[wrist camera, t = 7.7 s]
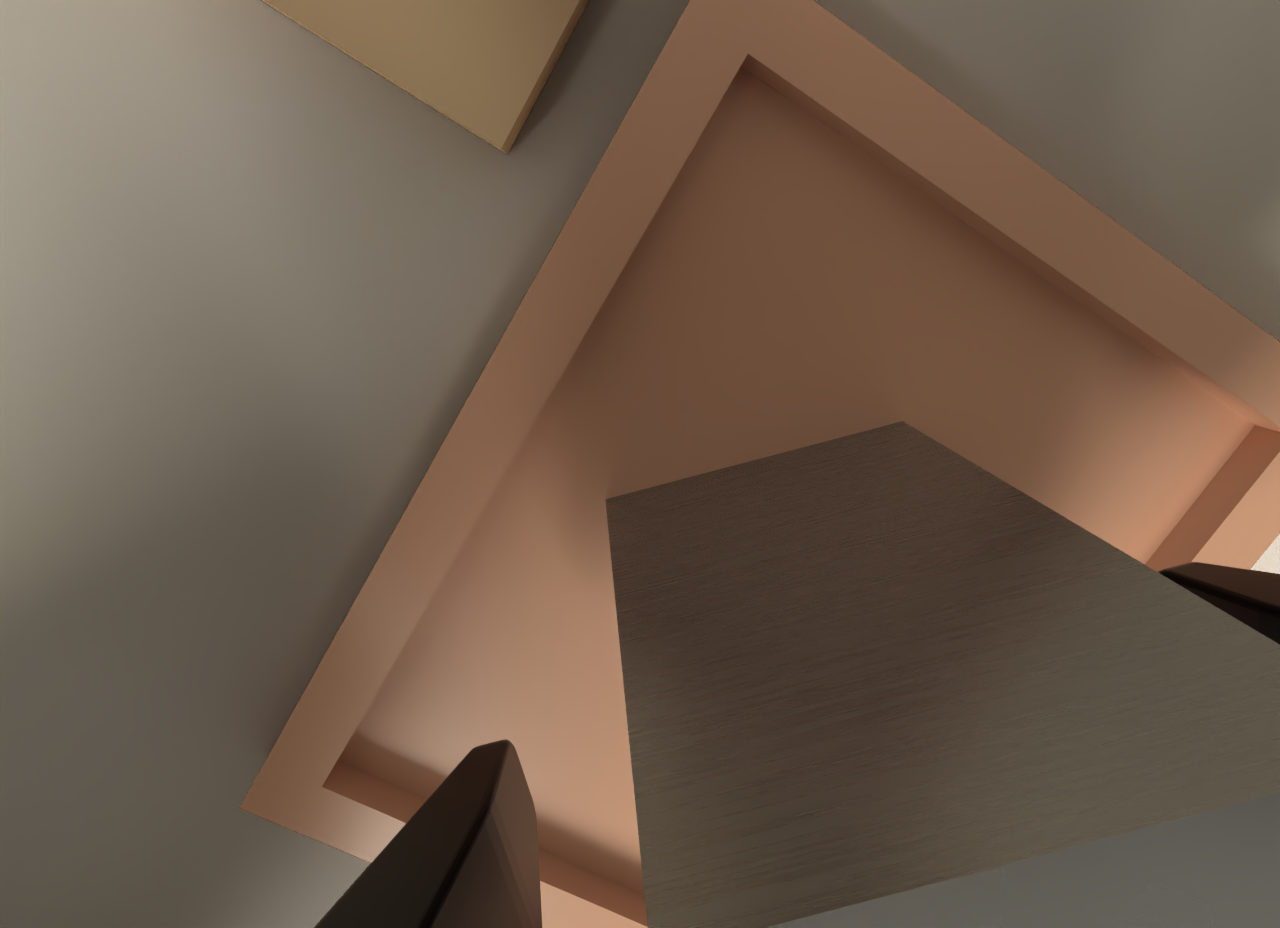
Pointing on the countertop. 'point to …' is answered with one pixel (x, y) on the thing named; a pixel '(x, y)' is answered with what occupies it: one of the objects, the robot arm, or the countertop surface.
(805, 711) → the strut
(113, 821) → the countertop surface
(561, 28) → the stud base
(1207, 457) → the tray
